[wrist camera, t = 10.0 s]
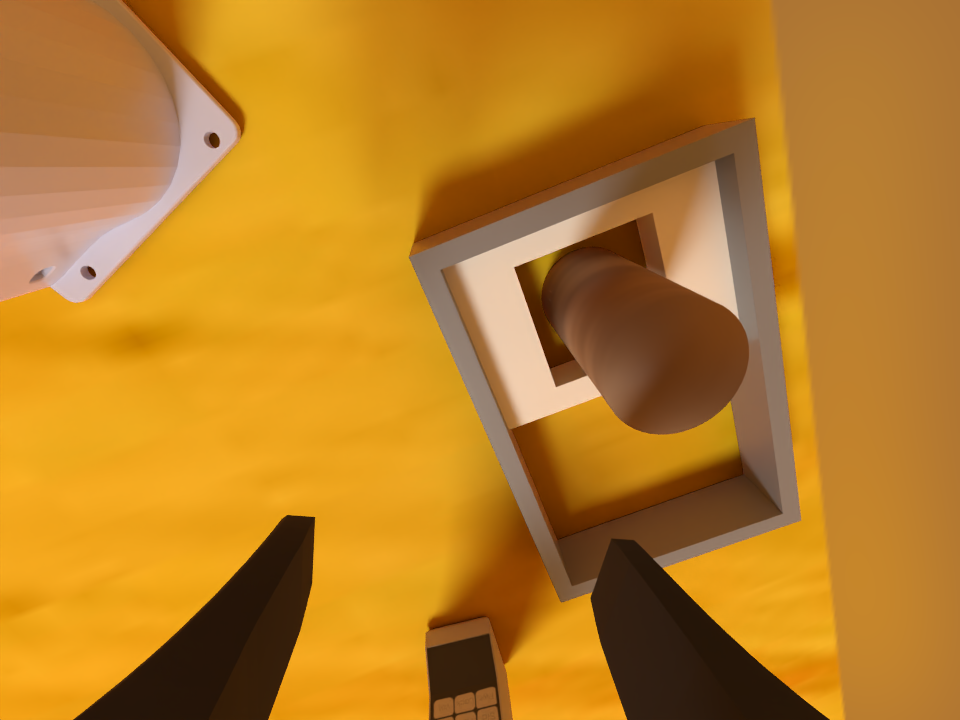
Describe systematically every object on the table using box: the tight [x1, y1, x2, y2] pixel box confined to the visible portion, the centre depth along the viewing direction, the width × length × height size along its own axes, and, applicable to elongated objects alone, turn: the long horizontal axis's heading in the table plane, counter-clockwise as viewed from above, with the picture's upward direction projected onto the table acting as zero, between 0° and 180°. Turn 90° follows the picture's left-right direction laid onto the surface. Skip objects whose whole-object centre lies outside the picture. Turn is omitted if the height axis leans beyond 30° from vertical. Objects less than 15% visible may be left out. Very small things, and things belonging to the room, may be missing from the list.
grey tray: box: [409, 118, 801, 602], centre depth 20 cm, size 18×12×3 cm, turn 21°
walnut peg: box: [541, 247, 749, 434], centre depth 16 cm, size 4×4×8 cm
